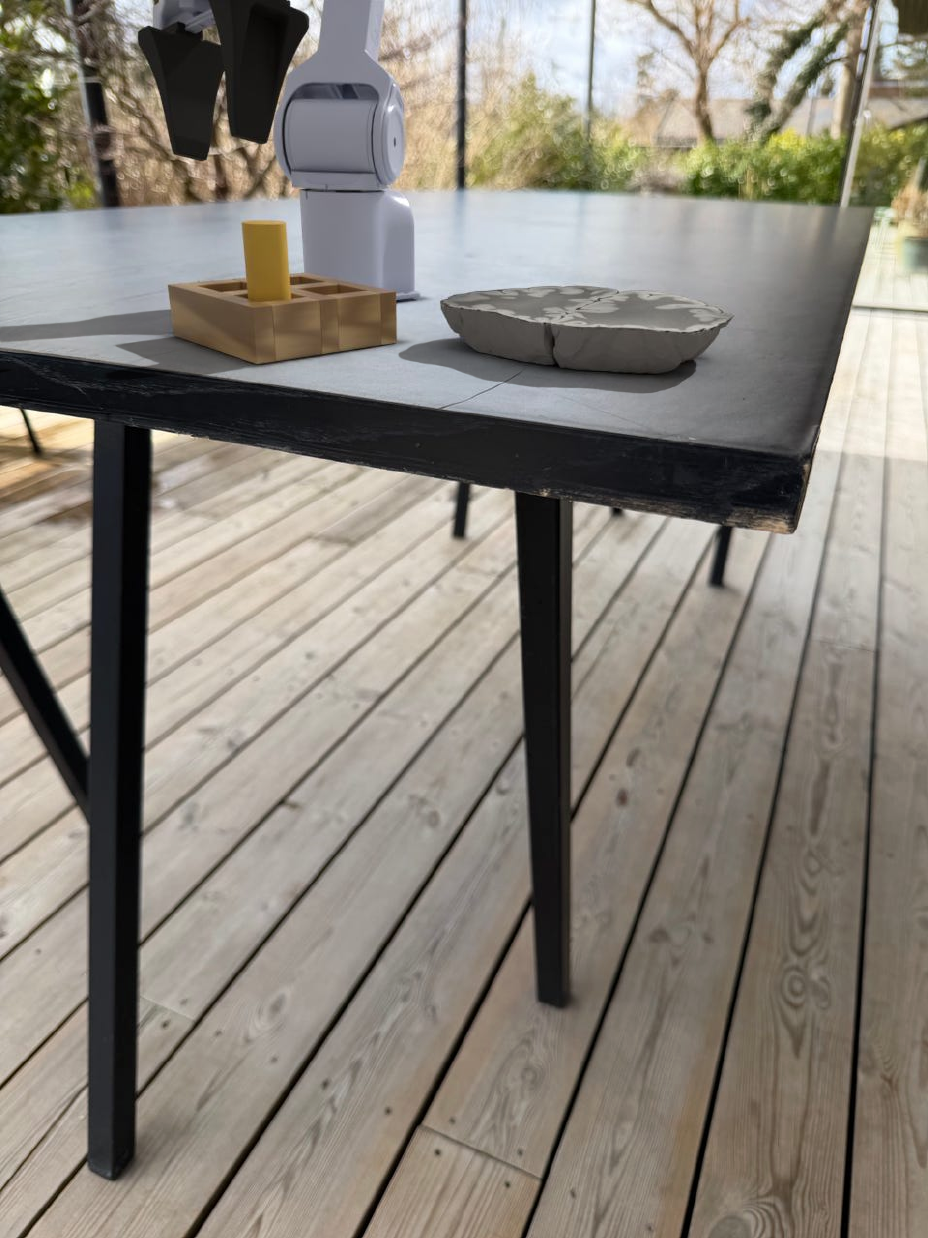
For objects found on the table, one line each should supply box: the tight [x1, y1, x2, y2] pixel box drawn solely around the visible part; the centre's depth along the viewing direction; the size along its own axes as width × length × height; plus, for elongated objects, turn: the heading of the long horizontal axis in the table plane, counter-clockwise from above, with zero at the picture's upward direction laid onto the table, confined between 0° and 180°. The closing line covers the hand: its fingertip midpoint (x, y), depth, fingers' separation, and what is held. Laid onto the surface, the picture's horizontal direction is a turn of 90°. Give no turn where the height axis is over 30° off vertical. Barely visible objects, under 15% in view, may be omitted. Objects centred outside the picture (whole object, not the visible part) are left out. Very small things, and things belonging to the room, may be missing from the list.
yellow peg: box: [241, 219, 291, 302], centre depth 60 cm, size 3×3×8 cm
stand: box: [167, 272, 398, 365], centre depth 64 cm, size 11×11×4 cm
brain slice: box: [439, 285, 735, 375], centre depth 64 cm, size 20×17×3 cm
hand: (218, 148), depth 57 cm, fingers open, 7 cm apart
